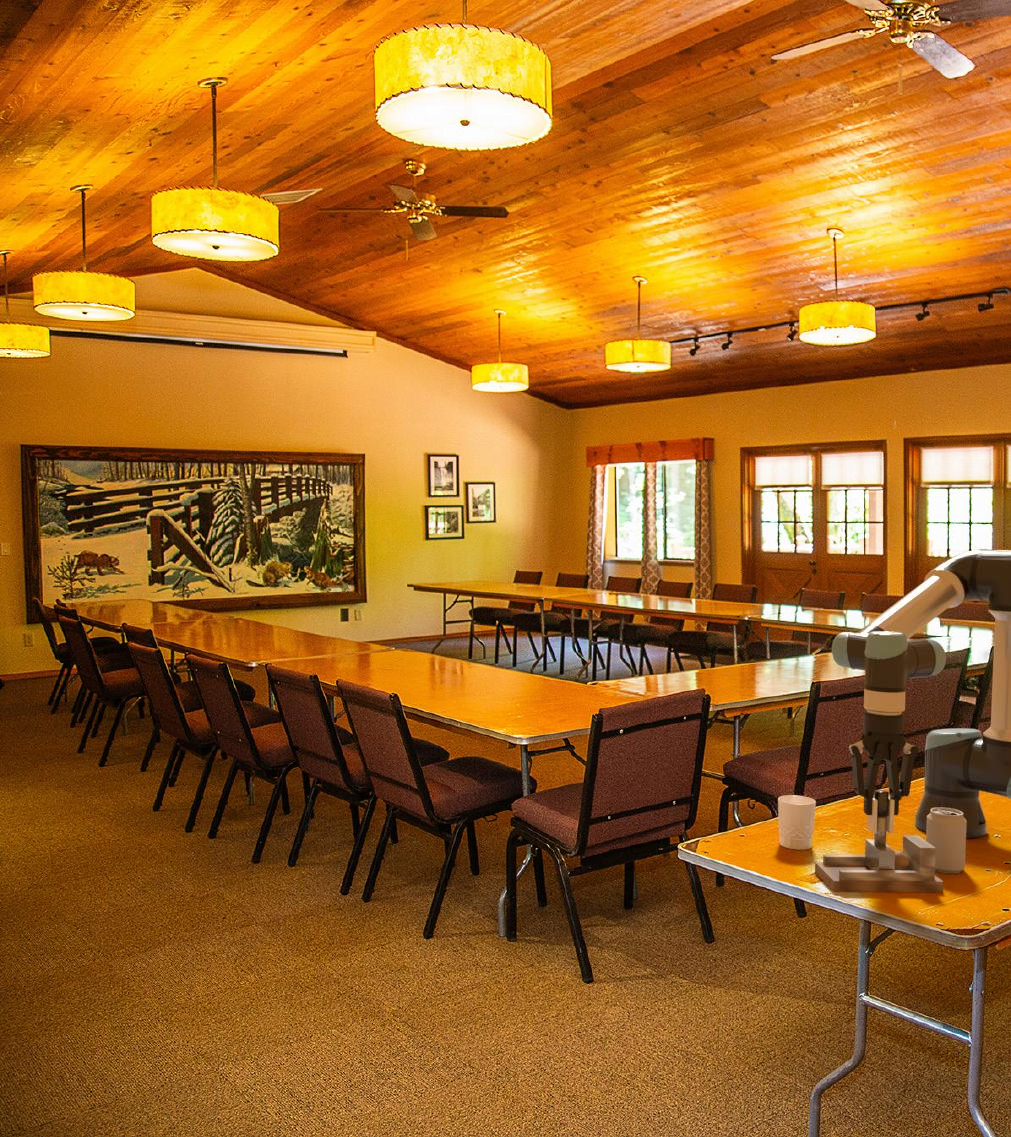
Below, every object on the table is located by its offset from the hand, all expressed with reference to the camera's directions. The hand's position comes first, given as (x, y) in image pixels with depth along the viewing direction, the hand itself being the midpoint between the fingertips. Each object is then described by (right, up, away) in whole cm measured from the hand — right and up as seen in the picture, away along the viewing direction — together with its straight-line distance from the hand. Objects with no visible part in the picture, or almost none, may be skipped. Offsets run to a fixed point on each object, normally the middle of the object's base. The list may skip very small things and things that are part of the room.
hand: (880, 831), depth 202 cm
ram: (0, -8, 0) cm, 8 cm away
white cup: (-10, -9, +23) cm, 27 cm away
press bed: (-1, -10, 0) cm, 10 cm away
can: (+16, -10, +9) cm, 21 cm away
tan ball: (+4, -8, 0) cm, 9 cm away
